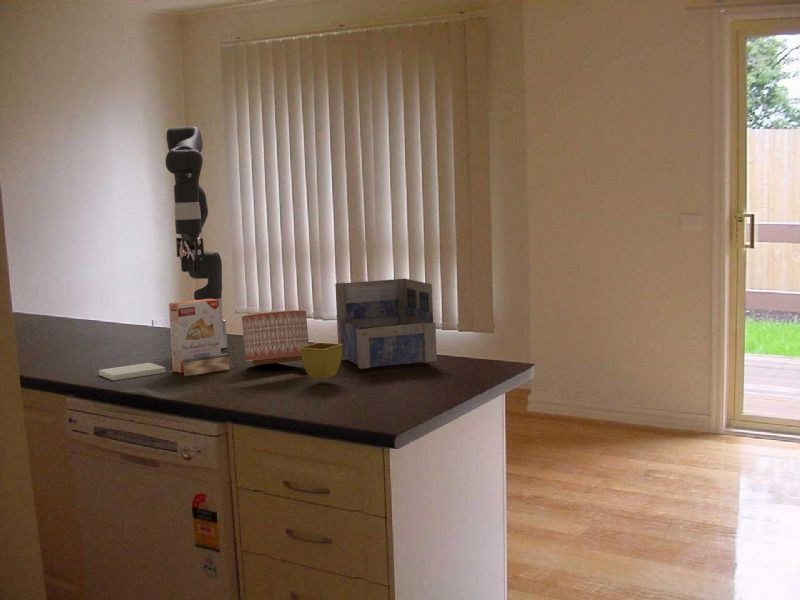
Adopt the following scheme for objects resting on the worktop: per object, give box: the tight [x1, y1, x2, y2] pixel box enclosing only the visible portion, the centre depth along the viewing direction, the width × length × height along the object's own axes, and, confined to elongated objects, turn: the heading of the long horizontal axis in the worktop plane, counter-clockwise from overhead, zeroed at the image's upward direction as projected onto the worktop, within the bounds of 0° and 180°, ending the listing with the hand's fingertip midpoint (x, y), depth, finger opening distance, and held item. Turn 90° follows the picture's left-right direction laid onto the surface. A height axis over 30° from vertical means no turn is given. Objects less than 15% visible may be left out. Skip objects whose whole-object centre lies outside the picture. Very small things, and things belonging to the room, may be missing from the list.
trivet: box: [98, 362, 167, 381], centre depth 282 cm, size 16×12×2 cm
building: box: [334, 278, 438, 370], centre depth 290 cm, size 23×24×23 cm
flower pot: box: [300, 342, 342, 380], centre depth 265 cm, size 9×9×9 cm
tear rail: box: [183, 353, 231, 377], centre depth 280 cm, size 14×2×5 cm, turn 127°
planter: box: [241, 309, 310, 366], centre depth 284 cm, size 19×19×15 cm
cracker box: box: [168, 299, 222, 374], centre depth 284 cm, size 14×6×21 cm, turn 132°
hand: (191, 272), depth 282 cm, fingers open, 8 cm apart
